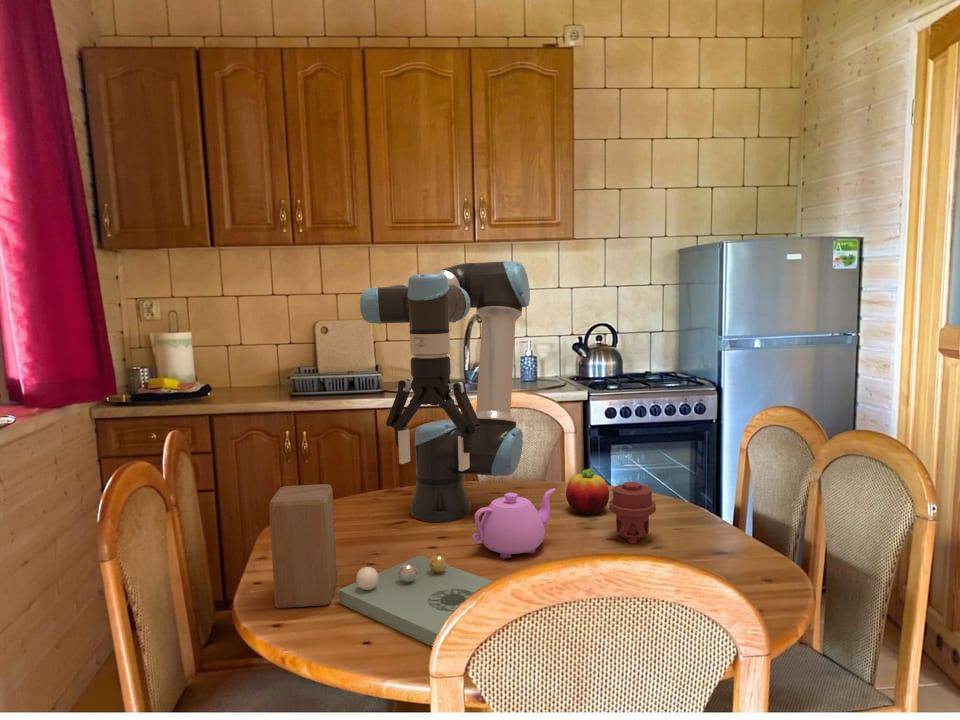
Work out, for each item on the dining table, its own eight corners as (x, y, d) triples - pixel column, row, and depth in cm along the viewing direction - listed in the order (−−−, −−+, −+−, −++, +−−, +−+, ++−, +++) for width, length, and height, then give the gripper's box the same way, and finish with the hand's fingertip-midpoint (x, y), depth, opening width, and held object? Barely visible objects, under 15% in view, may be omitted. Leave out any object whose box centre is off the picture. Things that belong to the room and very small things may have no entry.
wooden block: (285, 586, 129) (279, 485, 127) (338, 583, 130) (332, 482, 128) (274, 610, 120) (267, 501, 118) (331, 607, 120) (325, 498, 118)
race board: (339, 603, 122) (338, 589, 121) (419, 567, 137) (419, 555, 136) (440, 650, 104) (440, 635, 104) (520, 604, 119) (520, 590, 119)
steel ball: (394, 582, 124) (393, 564, 123) (408, 576, 126) (407, 558, 126) (407, 587, 121) (406, 569, 121) (421, 581, 124) (420, 562, 124)
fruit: (561, 515, 165) (560, 476, 164) (572, 502, 175) (571, 465, 174) (604, 520, 161) (604, 479, 160) (613, 506, 171) (613, 468, 170)
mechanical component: (654, 531, 153) (657, 548, 143) (609, 529, 155) (609, 545, 145) (654, 478, 152) (656, 491, 142) (609, 477, 154) (608, 490, 144)
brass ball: (425, 573, 128) (424, 555, 127) (438, 567, 130) (437, 549, 130) (438, 577, 125) (437, 559, 125) (451, 571, 128) (450, 554, 128)
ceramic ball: (352, 589, 121) (351, 568, 121) (369, 582, 124) (368, 561, 124) (366, 596, 119) (365, 574, 118) (383, 588, 122) (382, 566, 121)
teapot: (542, 530, 156) (541, 479, 154) (573, 551, 143) (572, 495, 141) (461, 544, 148) (459, 491, 147) (485, 568, 135) (484, 509, 134)
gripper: (365, 356, 130) (370, 463, 132) (478, 359, 118) (481, 477, 120) (389, 353, 137) (392, 455, 139) (497, 355, 125) (500, 467, 127)
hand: (433, 466), depth 129 cm, fingers open, 13 cm apart
